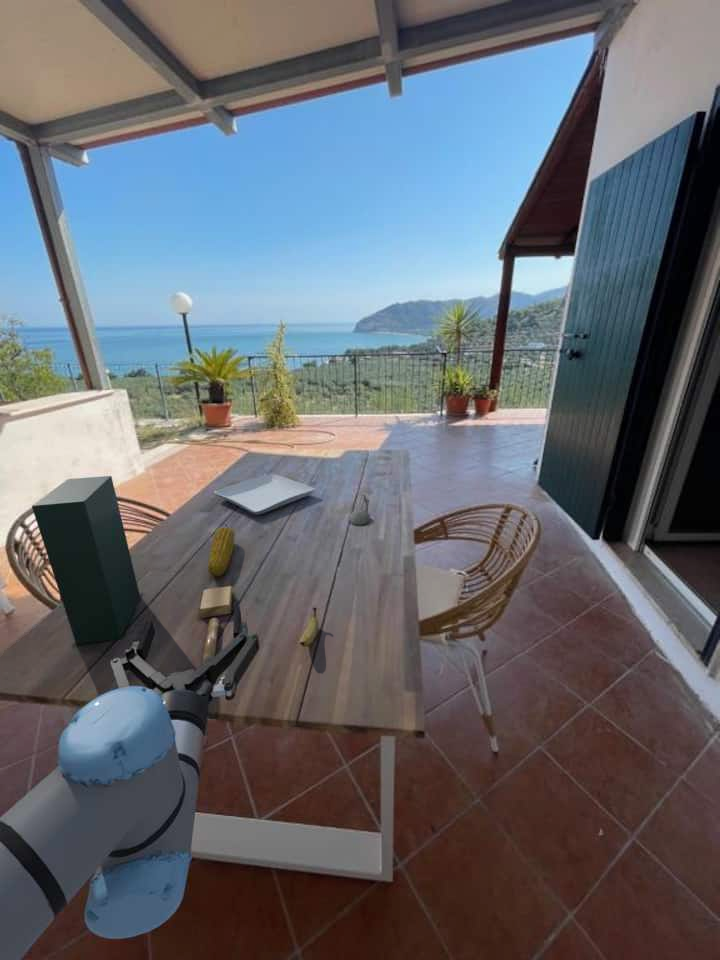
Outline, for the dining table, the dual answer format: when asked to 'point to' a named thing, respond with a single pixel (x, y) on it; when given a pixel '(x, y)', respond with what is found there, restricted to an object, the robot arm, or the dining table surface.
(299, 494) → the square plate
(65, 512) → the stand
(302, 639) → the banana
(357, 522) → the soupspoon
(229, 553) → the food
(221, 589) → the wooden mallet
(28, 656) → the dining table surface
